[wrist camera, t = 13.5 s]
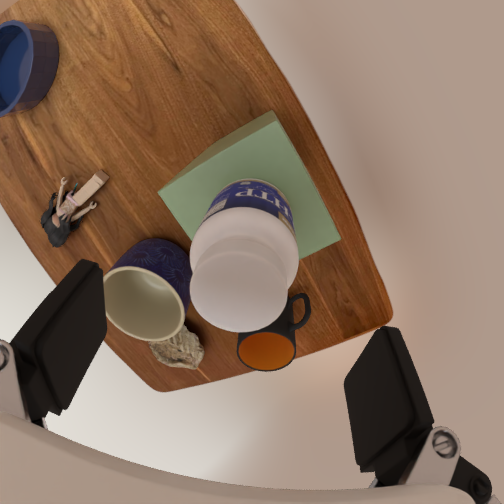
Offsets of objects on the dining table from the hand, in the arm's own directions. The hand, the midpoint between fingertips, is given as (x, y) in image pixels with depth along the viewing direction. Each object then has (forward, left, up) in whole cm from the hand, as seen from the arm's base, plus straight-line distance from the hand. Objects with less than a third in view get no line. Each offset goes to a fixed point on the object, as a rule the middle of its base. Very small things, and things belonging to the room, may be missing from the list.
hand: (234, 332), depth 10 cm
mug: (+23, +8, -34) cm, 41 cm away
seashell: (+35, -7, -34) cm, 49 cm away
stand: (0, 0, -34) cm, 34 cm away
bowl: (-9, -41, -34) cm, 54 cm away
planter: (+21, -11, -34) cm, 41 cm away
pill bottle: (+1, 0, -12) cm, 12 cm away
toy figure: (+13, -27, -34) cm, 45 cm away
